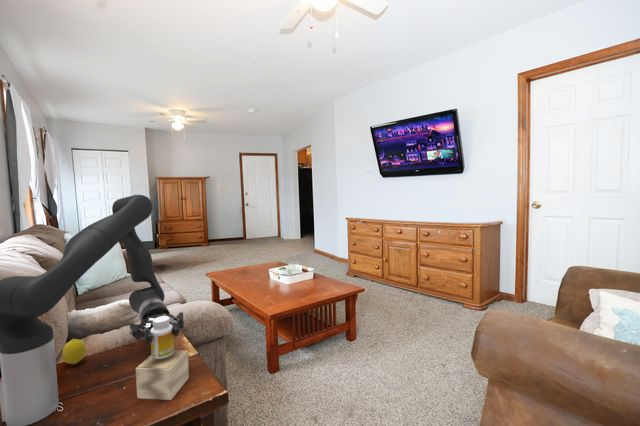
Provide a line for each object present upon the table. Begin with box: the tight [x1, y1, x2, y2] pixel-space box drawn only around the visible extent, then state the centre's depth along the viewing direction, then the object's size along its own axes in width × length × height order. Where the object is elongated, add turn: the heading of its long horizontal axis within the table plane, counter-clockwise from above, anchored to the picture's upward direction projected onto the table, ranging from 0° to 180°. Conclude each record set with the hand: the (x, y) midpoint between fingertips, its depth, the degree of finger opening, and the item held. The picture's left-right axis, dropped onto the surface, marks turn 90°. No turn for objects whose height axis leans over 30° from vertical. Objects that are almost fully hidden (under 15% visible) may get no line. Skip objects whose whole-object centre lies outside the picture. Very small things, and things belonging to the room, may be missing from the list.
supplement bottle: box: [150, 316, 175, 359], centre depth 81 cm, size 5×5×10 cm
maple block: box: [135, 349, 190, 401], centre depth 82 cm, size 9×9×8 cm
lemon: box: [61, 338, 87, 365], centre depth 93 cm, size 6×6×8 cm
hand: (163, 336), depth 79 cm, fingers closed on supplement bottle, 5 cm apart
